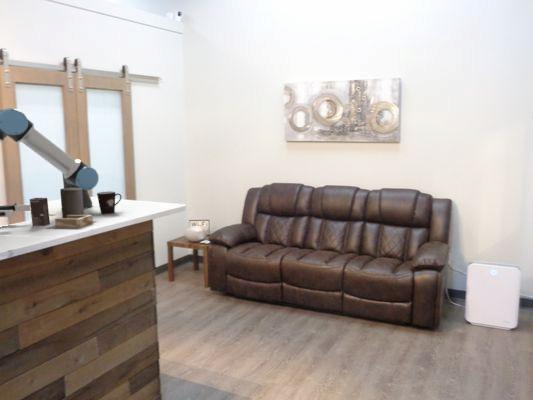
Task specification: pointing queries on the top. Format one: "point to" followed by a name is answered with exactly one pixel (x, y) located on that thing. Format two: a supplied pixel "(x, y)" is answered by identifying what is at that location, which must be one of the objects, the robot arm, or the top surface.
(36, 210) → the box
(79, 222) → the wooden tray
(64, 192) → the pillar candle
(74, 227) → the mat
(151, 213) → the top surface
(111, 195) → the coffee mug
